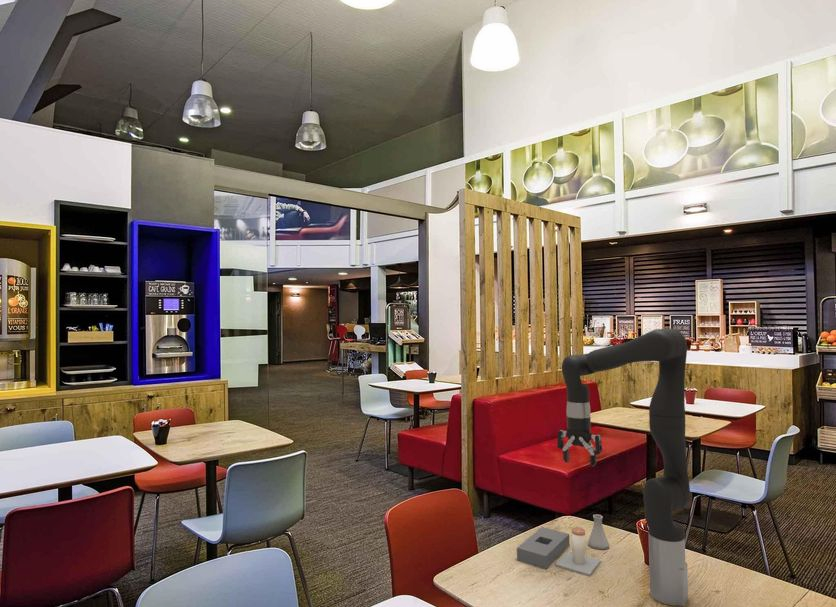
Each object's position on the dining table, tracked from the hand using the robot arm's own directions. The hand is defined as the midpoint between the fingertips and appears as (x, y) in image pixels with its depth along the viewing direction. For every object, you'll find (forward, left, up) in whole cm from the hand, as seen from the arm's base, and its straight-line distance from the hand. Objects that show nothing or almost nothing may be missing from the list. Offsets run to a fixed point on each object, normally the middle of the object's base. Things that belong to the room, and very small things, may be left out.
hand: (579, 464), depth 168 cm
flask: (-2, -11, -30) cm, 32 cm away
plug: (-1, +6, -30) cm, 30 cm away
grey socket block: (+11, +5, -30) cm, 32 cm away
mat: (-1, +6, -30) cm, 31 cm away
